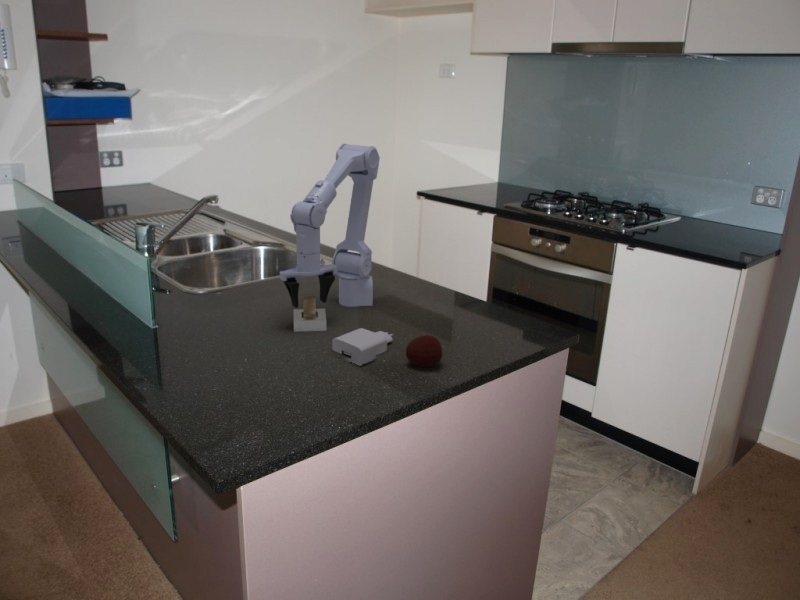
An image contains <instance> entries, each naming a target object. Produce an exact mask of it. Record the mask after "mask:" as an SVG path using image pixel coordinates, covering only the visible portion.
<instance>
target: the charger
mask: <svg viewBox="0 0 800 600" xmlns="http://www.w3.org/2000/svg"><path fill="white" fill-rule="evenodd" d="M392 336H394V334H393V333H390V334H389V332H388V331H386V332H385V331H382V330H379V331H376V332H374V331H372V330H369V329H366V328H363V327H361V328H360V327H359V328H357V329H355V330H352V331H350V332H347V333H345V334H342V335H339V336H337V337H334V338H332V340H331V341H332V342H331V343H332V344H331V345H332V346H331V347H332V349H331V350H332V351H333V352H336V353H338V354H340V355H342V354H345V355H348V356H344V357H341V356H340V357H339V359H341V358H342V359H341V360H343V359H344V360H343V361H345V360H347V361H346V362H348V361H349V363H350V362H352V363H351V364H353V363H355V364H357V365H359V366H358V367H361V366H363V364H364V365H366V364H368V363H370V362H372V361H375V360H377V359H379V358H381V357H382V355H380V354H382V353H385V352H387V351H388V343H391V342H393V341H394V338H393V337H392ZM376 358H377V359H376ZM374 359H375V360H374ZM355 364H354V365H355ZM357 365H356V366H357Z"/></svg>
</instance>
